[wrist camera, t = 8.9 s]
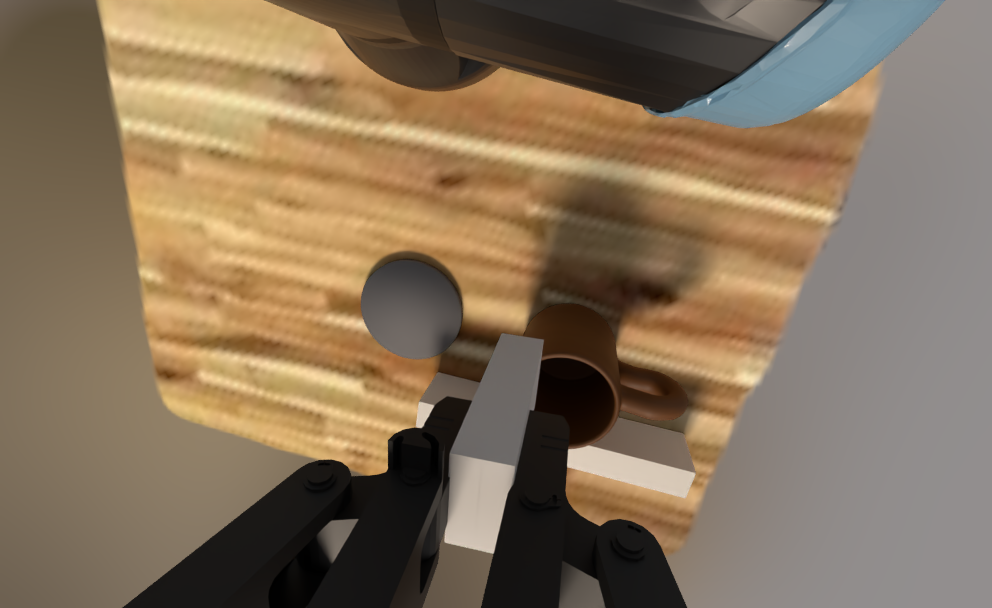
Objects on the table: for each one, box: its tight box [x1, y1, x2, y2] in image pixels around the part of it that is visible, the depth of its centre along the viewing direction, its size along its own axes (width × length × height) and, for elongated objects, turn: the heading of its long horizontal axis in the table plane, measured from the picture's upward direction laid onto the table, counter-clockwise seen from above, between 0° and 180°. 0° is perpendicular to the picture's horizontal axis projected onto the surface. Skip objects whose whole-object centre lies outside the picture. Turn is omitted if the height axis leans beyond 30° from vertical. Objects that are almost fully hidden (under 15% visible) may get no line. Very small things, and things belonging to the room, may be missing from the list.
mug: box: [523, 303, 688, 449], centre depth 34 cm, size 12×8×9 cm, turn 88°
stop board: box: [416, 372, 696, 498], centre depth 39 cm, size 2×22×5 cm, turn 81°
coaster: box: [361, 259, 463, 359], centre depth 40 cm, size 9×9×1 cm
